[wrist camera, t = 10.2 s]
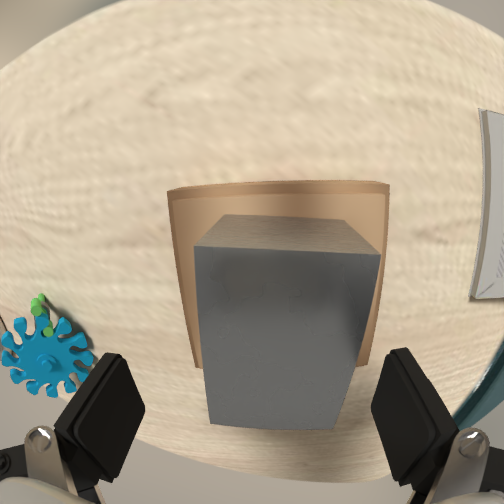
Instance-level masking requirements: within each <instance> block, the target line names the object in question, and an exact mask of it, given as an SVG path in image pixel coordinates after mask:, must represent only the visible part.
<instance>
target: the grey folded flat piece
mask: <svg viewBox="0 0 504 504" xmlns="http://www.w3.org/2000/svg"><path fill="white" fill-rule="evenodd" d="M478 109H479V117H480V126H481V137H482V155H483V194H482V211H481V223H480V232H479V240H478V248H477V254H476V260H475V266H474V271H473V276H472V281H471V286H470V290H469V294H468V296H473V297H474V299H484V298H501V297H504V115H503V114H499V113H496V112H492V111H488V110H484V109H480V108H478Z"/></svg>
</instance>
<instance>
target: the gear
mask: <svg viewBox="0 0 504 504" xmlns="http://www.w3.org/2000/svg"><path fill="white" fill-rule="evenodd" d="M31 313H32V314H33V315H34V319H35V332H34V334H33V335H27V334H26V333H25V332H26V330H27V321H26V319H25V318H24V317H20V318H16V319H14V329H15V330H16V332H18V334H19V335H20V337H21V339H22V342H23V343H22V344H21V345H17V344H16V343H15V342H14V339H13V335H12V333H11V332H9V331H6V332H5V333H4V334H3V336H2V338H1V343H2V345H3V346H4V347H6V348H9V349H11V350H12V351H14V352H15V353H16V354H17V355H18V356H19V358H14V357H13V356H12V355H11V354H10V353H9V352H8V351H6V350H3V352H2V365H3V366H6V367H8V366H15V367H18V368H21V369H23V370H24V371H19V370H17V369H11V370H10V376H11V379H12V380H13V382H14V383H15V384H19V383H20V382H21V381H23V380H26V379H35V380H36V381H28V382H27V384H26V387H27V390H28V391H29V392H30V393H31V394H33V395H36V394H38V390H39V388H40V387H41V386H42V385H44V384H46V383H50V385H48V386H47V387H46V392H47V396H49V397H54V398H56V397H58V392H57V385H58V383H59V382H60V381H65V383H64V387H65V391H66V392H67V393H72V392H75V391H77V389H76V385H75V383H74V382H73V381H72V380H71V379H70V378H69V374H70V373H71V372H75V373H77V375H78V379H79V380H80V381H81V382H84V381H85V379H86V378H87V377H88V375H89V372H88V370H87V369H85V368H81V367H79V366H77V365H76V364H75V363H74V361H75V360H81V361H82V362H83V364H84V365H86V366H91V365H92V363H93V355H92V353H91V352H90V351H83V352H79V351H75V350H72V349H70V347H71V346H77V347H79V348H86V347H87V342H86V338H85V335H84V333H83V332H79V333H77V334H76V335H74V336H73V337H70V338H59V337H58V336H59V335H60V334H69V333H70V332H71V331H72V327H71V324H70V322H69V321H68V320H67V319H65V318H64V317H62V318H60V319H59V321H58V324H57V326H56V327H55V328H54V329H53V325H52V322H51V321H50V310H49V306H48V304H47V303H46V302H45V297H44V295H43V294H39V295H38V298H34V299H32V301H31Z"/></svg>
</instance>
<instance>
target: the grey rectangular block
mask: <svg viewBox="0 0 504 504" xmlns="http://www.w3.org/2000/svg"><path fill="white" fill-rule="evenodd" d="M380 260H381V254H380V253H379V252H378V251H377V250H376V249H375V248H374V247H373V246H372V245H371V244H370V243H369V242H367V241H366V240H365V239H364V238H363V237H362V236H361V235H360V234H359V233H358V232H357V231H356V230H354V229H353V228H352V227H351V226H350V225H349V224H348V223H347V222H346V221H344V220H339V219H324V218H307V217H288V216H265V215H238V214H224V215H223V216H222V217H221V218H220V219H219V220H218V221H217V222H216V223H215V224H214V225H213V226H212V227H211V228H210V229H209V231H208V232H207V233H206V234H205V235H204V236H203V237H202V238H201V239H200V240H199V241H198V242H197V243H196V244H195V245H194V266H195V283H196V297H197V311H198V323H199V334H200V344H201V354H202V363H203V372H204V381H205V389H206V396H207V404H208V411H209V418H210V424H217V425H225V426H234V427H245V428H258V429H278V430H319V429H333V427H334V425H335V422H336V420H337V417H338V415H339V412H340V409H341V407H342V404H343V401H344V399H345V396H346V393H347V390H348V387H349V384H350V381H351V378H352V375H353V372H354V369H355V365H356V362H357V359H358V355H359V352H360V349H361V345H362V341H363V338H364V334H365V330H366V326H367V322H368V318H369V314H370V310H371V305H372V301H373V296H374V292H375V287H376V282H377V277H378V271H379V266H380Z"/></svg>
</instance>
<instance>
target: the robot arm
mask: <svg viewBox="0 0 504 504" xmlns="http://www.w3.org/2000/svg"><path fill="white" fill-rule="evenodd" d="M5 332H6V330H5V327H4V325H3V323H2V321H1V319H0V361H2V352H3V350H6V351H8V352H9V353H10V354H11V355H12V350H11V349H9V348H6V347H4V346H3V345H2V343H1V338H2V336H3V334H4V333H5ZM371 412H372V415H373V418H374V421H375V424H376V426H377V429H378V432H379V435H380V438H381V441H382V444H383V447H384V451H385V454H386V457H387V460H388V463H389V466H390V470H391V473H392V476H393V479H394V480H395V481H398V482H399V485H400V486H403V485H407V484H410V483H411V485H412V489H413V492H412V494H411V496H410V498H409V500H408V501H407V503H406V504H504V450H502V449H497V448H494V447H490V442H489V439H488V437H487V435H486V434H485V433H484V432H483V431H482V430H480V429H477V428H466V429H464V430H462V431H459V429H458V427H457V425H456V424H455V422H454V420H453V418H452V417H451V415H450V413H449V411H448V410H447V408H446V406H445V404H444V403H443V401H442V399H441V398H440V396H439V394H438V393H437V391H436V390H435V388H434V386H433V385H432V383H431V382H430V380H429V379H427V377H426V376H425V374H424V372H423V371H422V369H421V368H420V366H419V365H418V363H417V361H416V360H415V358H414V357H413V355H412V354H411V352H410V351H409V349H408V348H406V347H405V348H399V349H393V350H391V351H390V353H389V354H387V355H386V357H385V360H384V364H383V368H382V371H381V375H380V378H379V381H378V385H377V388H376V391H375V394H374V397H373V400H372V403H371ZM144 414H145V405H144V403H143V401H142V398H141V396H140V394H139V392H138V389H137V387H136V384H135V382H134V380H133V377H132V375H131V372H130V370H129V367H128V364H127V362H126V360H125V359H124V358H123V357H122V356H121V355H120V354H115V353H108V352H107V353H105V354H104V355H103V356H102V358H101V359H100V360H99V362H98V363H97V364H96V366H95V367H94V368H93V370H92V371H91V372H90V374H89V375H88V377H87V378H86V379H85V381H84V382H83V384H82V385H81V386H80V388H79V389H78V391H77V392H76V393H75V395H74V396H73V398H72V399H71V400H70V402H69V403H68V405H67V406H66V408H65V409H64V411H63V412H62V414H61V415H60V417H59V418H58V420H57V421H56V423H55V424H54V427H55V429H54V431H53V430H52V429H51V428H49V427H47V426H37V427H34V428H33V429H31V430H30V431H29V432H28V433H27V435H26V437H25V441H24V444H23V445H18V446H14V447H11V448H6V449H3V450H0V504H106V503H105V501H104V498H103V496H102V493H101V491H100V489H99V486H98V481H99V479H101V480H104V481H107V482H110V483H112V482H113V480H114V478H117V477H118V476H119V473H120V471H121V468H122V466H123V463H124V461H125V459H126V456H127V454H128V451H129V449H130V447H131V444H132V442H133V440H134V437H135V435H136V432H137V430H138V428H139V425H140V423H141V421H142V419H143V416H144Z"/></svg>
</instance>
